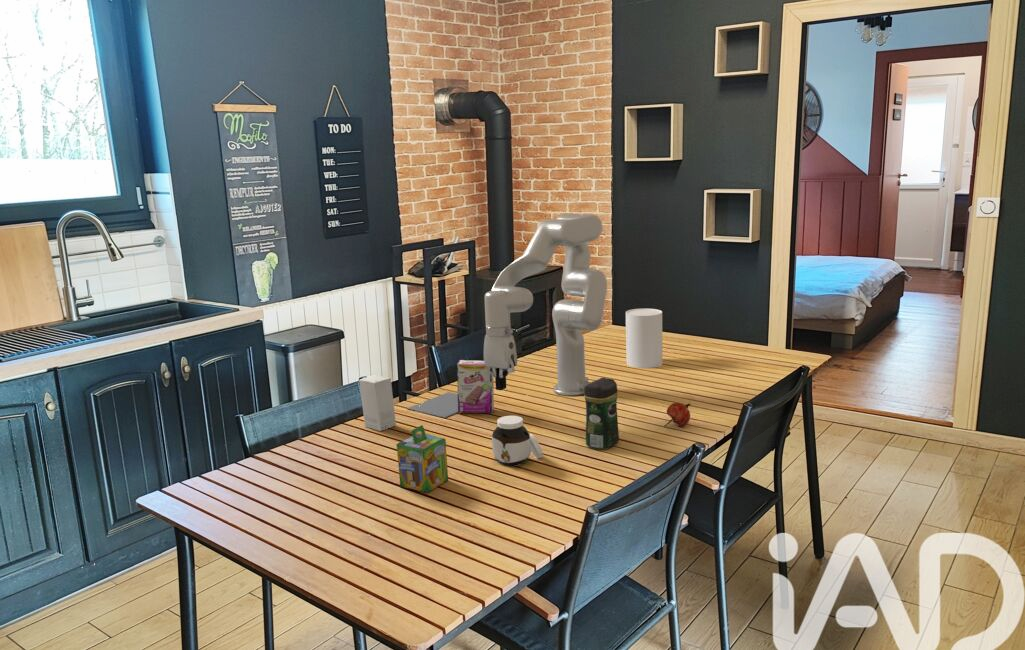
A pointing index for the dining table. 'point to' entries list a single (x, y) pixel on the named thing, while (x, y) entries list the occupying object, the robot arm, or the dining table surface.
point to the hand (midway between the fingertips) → (501, 388)
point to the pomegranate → (679, 414)
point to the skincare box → (377, 402)
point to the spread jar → (513, 442)
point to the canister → (644, 338)
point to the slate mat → (439, 405)
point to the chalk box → (422, 461)
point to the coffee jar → (601, 413)
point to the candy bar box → (474, 387)
